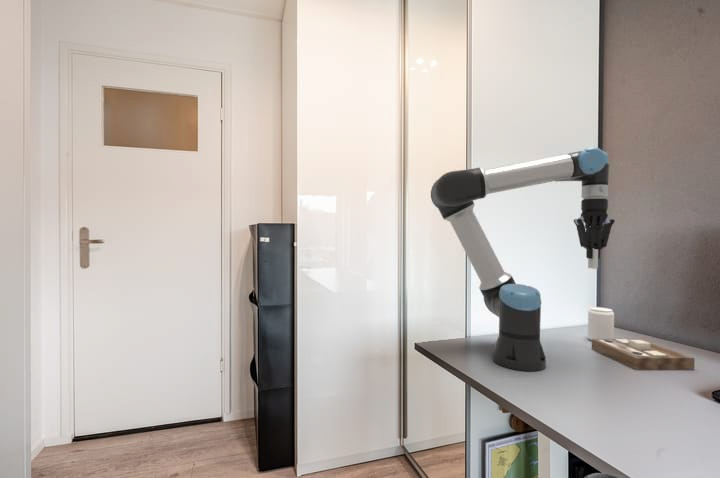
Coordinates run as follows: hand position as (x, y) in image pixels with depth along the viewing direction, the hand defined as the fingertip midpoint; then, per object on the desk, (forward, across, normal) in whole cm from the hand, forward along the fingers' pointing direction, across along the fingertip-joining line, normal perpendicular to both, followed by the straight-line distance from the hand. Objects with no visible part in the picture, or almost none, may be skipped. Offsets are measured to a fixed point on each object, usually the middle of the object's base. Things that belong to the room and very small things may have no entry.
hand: (592, 268), depth 122 cm
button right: (+28, +11, -13) cm, 33 cm away
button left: (+28, +11, -1) cm, 30 cm away
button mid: (+26, +11, -7) cm, 29 cm away
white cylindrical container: (+29, +12, +12) cm, 33 cm away
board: (+28, +11, -7) cm, 31 cm away
